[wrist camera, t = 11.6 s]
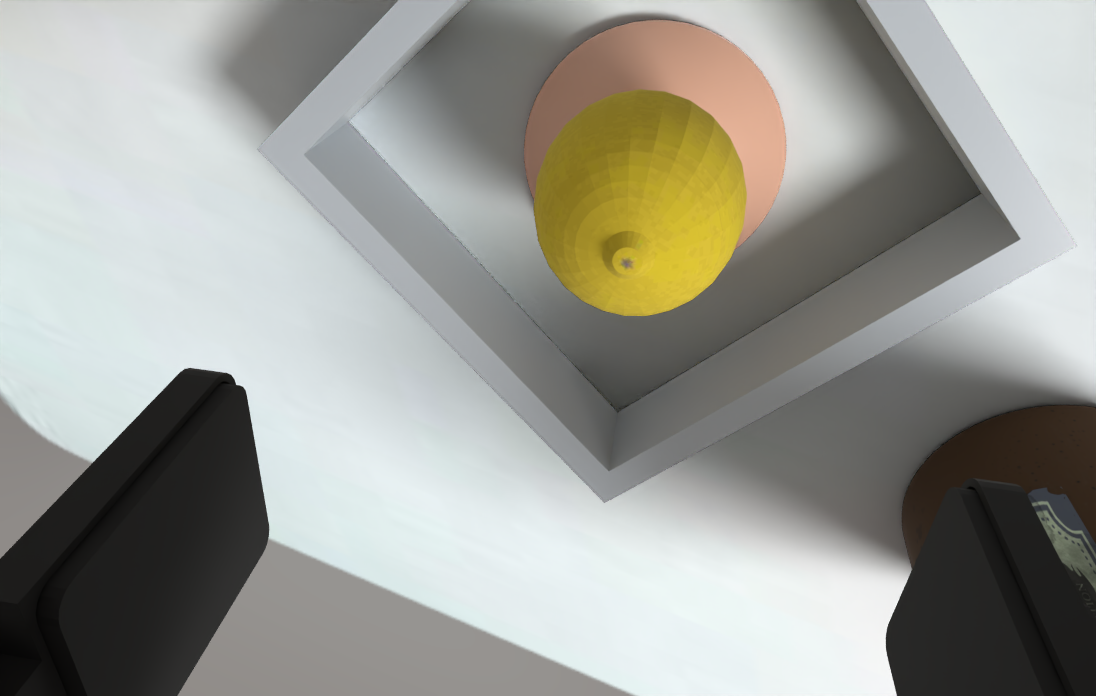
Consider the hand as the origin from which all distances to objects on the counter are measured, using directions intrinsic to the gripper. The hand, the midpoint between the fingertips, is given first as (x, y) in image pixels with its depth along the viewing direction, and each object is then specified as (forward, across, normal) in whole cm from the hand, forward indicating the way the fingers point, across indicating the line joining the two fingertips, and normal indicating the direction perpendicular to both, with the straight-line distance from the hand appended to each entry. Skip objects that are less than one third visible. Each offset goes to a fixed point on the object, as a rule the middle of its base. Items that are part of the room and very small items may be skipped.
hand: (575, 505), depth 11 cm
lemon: (+16, 0, +1) cm, 17 cm away
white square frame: (+17, 0, +1) cm, 17 cm away
